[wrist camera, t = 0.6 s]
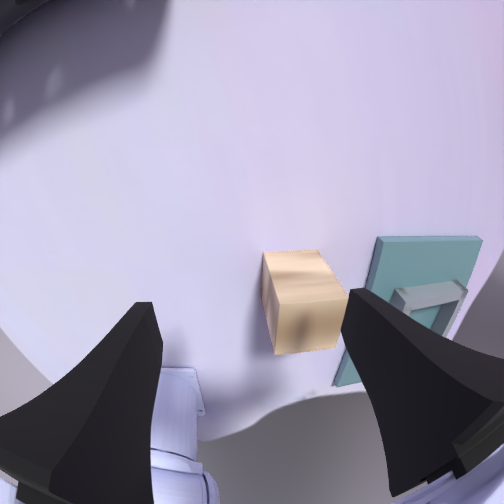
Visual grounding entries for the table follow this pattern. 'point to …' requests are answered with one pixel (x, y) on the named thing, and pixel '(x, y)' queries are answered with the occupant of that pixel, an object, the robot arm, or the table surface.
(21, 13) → the muzzle brake
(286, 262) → the peg
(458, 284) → the dock
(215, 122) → the table surface
